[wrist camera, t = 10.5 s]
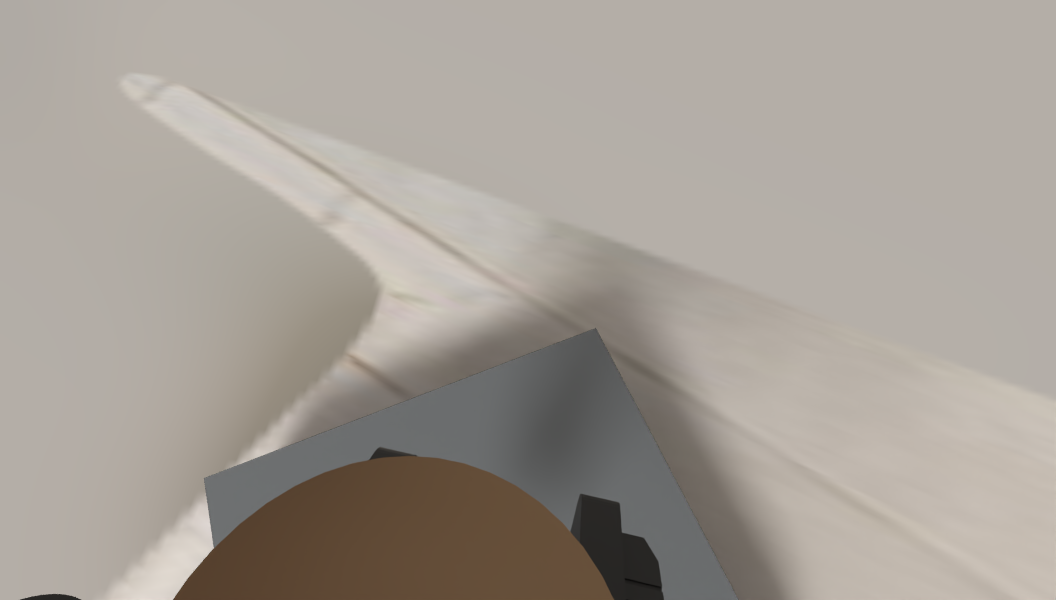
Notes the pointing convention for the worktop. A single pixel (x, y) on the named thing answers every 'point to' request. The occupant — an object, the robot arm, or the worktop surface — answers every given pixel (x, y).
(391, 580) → the peg
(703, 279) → the worktop surface
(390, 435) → the hole block
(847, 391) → the worktop surface
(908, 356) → the worktop surface
